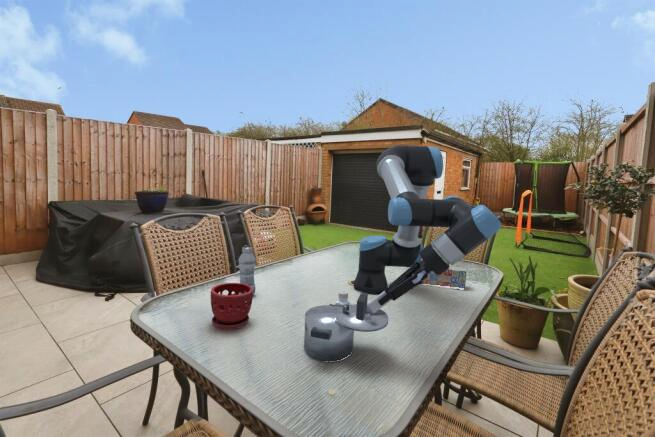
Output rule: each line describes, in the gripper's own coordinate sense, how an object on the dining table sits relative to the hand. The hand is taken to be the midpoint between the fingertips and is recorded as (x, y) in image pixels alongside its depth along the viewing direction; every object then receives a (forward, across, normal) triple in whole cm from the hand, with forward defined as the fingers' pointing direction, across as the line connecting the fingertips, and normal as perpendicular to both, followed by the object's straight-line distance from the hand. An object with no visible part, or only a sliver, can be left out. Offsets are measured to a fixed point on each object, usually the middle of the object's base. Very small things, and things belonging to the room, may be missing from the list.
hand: (370, 308), depth 87 cm
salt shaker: (+19, +21, -1) cm, 28 cm away
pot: (+18, 0, -2) cm, 18 cm away
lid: (+4, 0, -1) cm, 4 cm away
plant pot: (+42, +5, +22) cm, 48 cm away
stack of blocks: (-6, +72, -27) cm, 77 cm away
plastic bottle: (+47, +28, +28) cm, 62 cm away
